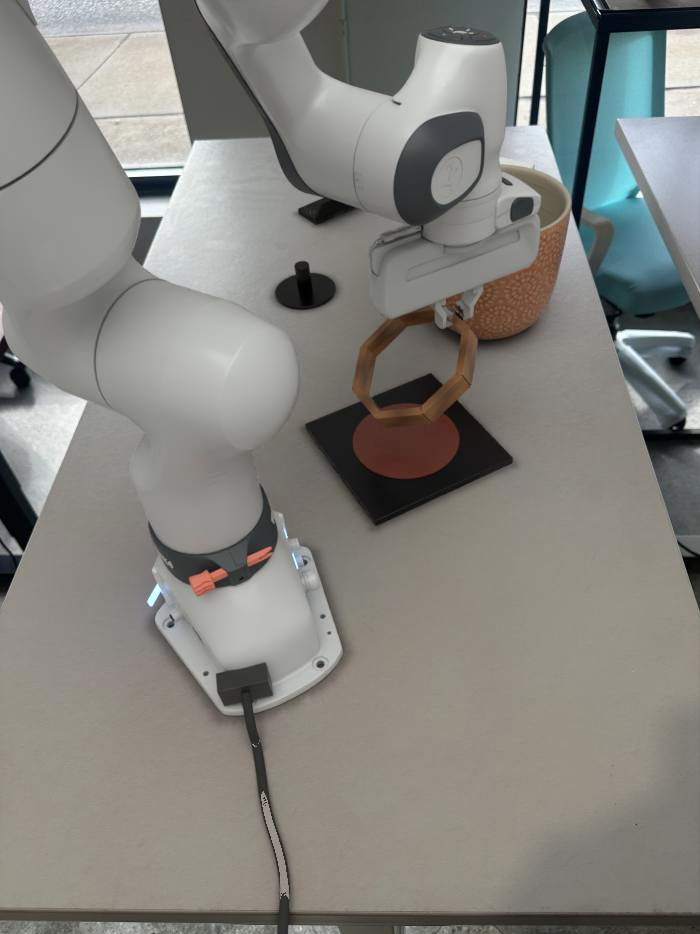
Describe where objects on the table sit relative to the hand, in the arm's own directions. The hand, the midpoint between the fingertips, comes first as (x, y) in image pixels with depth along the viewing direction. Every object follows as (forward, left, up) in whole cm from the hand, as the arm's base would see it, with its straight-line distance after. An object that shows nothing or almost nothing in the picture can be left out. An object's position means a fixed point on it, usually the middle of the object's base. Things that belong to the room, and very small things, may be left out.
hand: (454, 320), depth 86 cm
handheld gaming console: (+61, -13, -17) cm, 65 cm away
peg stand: (+40, +3, -17) cm, 43 cm away
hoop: (0, +5, -5) cm, 7 cm away
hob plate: (0, +7, -17) cm, 18 cm away
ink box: (+38, -35, -17) cm, 54 cm away
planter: (+18, -18, -17) cm, 30 cm away
